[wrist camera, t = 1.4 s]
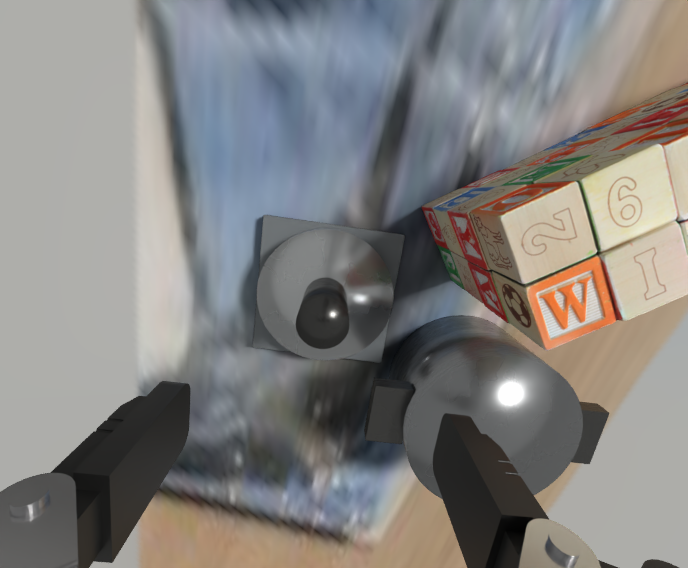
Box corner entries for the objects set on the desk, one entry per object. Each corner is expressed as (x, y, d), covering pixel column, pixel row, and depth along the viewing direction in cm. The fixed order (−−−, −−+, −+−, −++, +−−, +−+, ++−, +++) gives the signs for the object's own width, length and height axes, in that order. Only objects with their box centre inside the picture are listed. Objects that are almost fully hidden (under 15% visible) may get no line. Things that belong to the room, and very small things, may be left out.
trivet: (265, 214, 24) (263, 215, 23) (402, 234, 24) (405, 235, 24) (255, 342, 26) (252, 347, 25) (379, 358, 27) (381, 362, 26)
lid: (266, 218, 23) (241, 225, 17) (401, 238, 24) (424, 251, 18) (255, 345, 25) (230, 390, 19) (378, 359, 26) (391, 408, 20)
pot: (374, 303, 26) (388, 340, 19) (564, 328, 26) (642, 372, 20) (353, 425, 28) (358, 497, 21) (526, 444, 29) (583, 518, 22)
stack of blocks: (713, 66, 22) (1151, -87, 10) (728, 156, 24) (1126, 113, 12) (418, 207, 24) (499, 215, 12) (448, 282, 26) (548, 356, 14)
